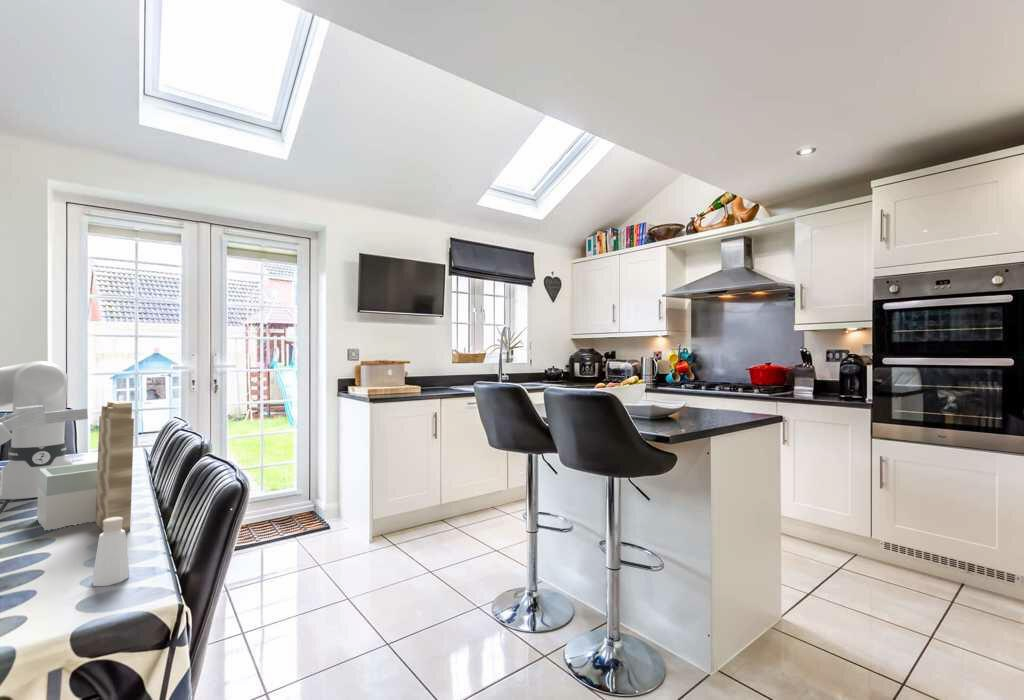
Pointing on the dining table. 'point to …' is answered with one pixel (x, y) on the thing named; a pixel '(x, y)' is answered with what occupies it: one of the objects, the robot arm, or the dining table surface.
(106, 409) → the tan wooden tall block
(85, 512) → the raised tray
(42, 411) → the bar
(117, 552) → the pepper shaker
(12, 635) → the dining table surface
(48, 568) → the dining table surface
